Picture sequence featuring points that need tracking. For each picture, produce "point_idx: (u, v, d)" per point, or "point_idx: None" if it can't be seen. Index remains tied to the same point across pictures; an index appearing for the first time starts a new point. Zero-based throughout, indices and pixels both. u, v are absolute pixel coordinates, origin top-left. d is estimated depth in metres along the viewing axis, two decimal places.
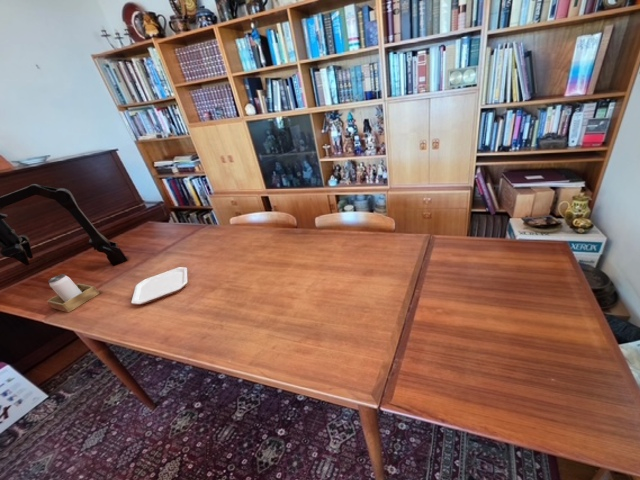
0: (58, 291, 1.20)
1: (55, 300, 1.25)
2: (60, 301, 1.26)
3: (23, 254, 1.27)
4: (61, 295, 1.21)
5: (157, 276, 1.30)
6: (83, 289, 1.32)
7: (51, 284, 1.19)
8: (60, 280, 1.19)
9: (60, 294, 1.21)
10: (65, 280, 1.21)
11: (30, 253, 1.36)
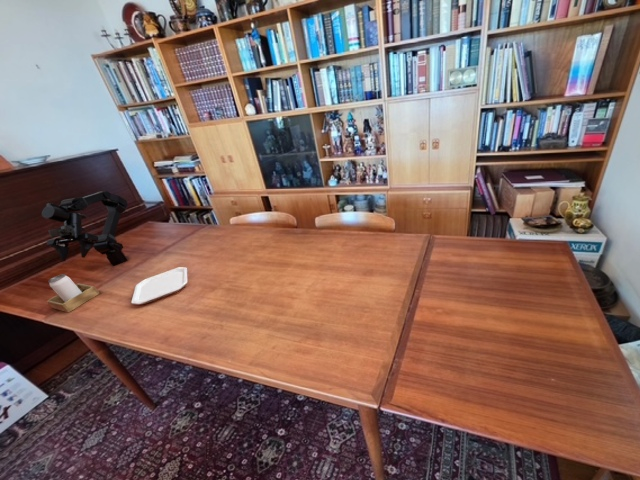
0: (58, 291, 1.20)
1: (55, 300, 1.25)
2: (60, 301, 1.26)
3: (90, 246, 1.33)
4: (61, 295, 1.21)
5: (157, 276, 1.30)
6: (83, 289, 1.32)
7: (51, 284, 1.19)
8: (60, 280, 1.19)
9: (60, 294, 1.21)
10: (65, 280, 1.21)
11: (65, 256, 1.32)
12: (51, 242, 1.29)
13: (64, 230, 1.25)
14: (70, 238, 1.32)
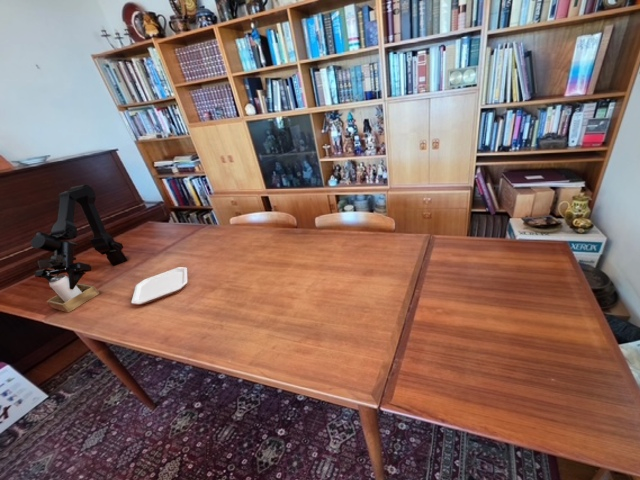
0: (58, 291, 1.20)
1: (55, 300, 1.25)
2: (60, 301, 1.26)
3: (80, 276, 1.25)
4: (61, 295, 1.21)
5: (157, 276, 1.30)
6: (83, 289, 1.32)
7: (51, 284, 1.19)
8: (60, 280, 1.19)
9: (60, 294, 1.21)
10: (65, 280, 1.21)
11: None
12: (40, 273, 1.21)
13: (55, 260, 1.17)
14: (60, 268, 1.25)
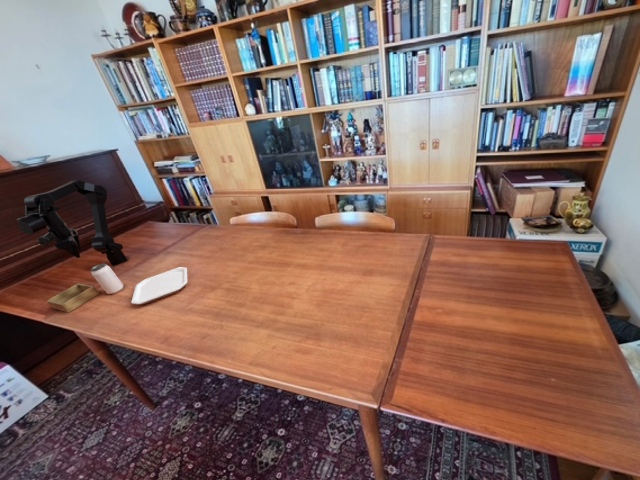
0: (103, 279, 1.23)
1: (55, 300, 1.25)
2: (60, 301, 1.26)
3: (75, 247, 1.29)
4: (106, 283, 1.24)
5: (157, 276, 1.30)
6: (83, 289, 1.32)
7: (96, 272, 1.21)
8: (105, 267, 1.23)
9: (105, 282, 1.24)
10: (108, 267, 1.24)
11: (79, 246, 1.38)
12: None
13: (41, 243, 1.24)
14: None
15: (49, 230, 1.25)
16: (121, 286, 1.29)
